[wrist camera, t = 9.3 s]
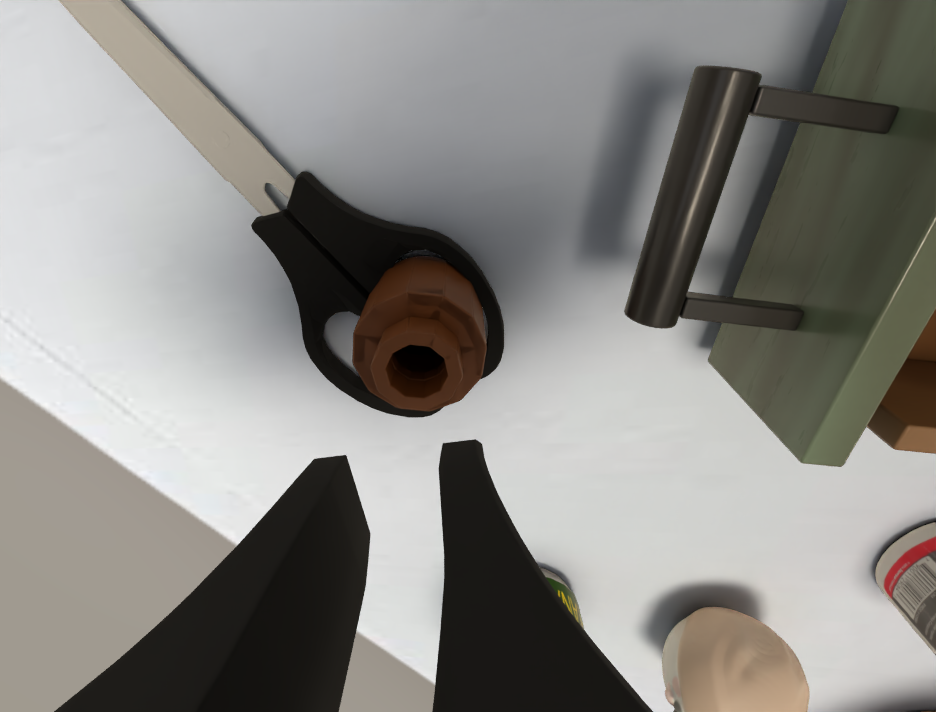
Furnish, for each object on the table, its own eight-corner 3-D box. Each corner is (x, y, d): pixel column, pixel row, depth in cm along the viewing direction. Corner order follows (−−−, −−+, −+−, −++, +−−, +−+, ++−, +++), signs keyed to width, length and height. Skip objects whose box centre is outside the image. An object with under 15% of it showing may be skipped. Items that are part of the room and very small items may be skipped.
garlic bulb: (624, 653, 28) (682, 849, 21) (674, 574, 25) (761, 768, 18) (735, 669, 29) (827, 861, 21) (795, 593, 26) (925, 786, 19)
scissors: (-147, -53, 13) (401, 430, 20) (-185, -62, 12) (399, 444, 20) (-14, -303, 11) (536, 330, 19) (-49, -332, 10) (540, 340, 18)
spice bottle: (373, 248, 17) (347, 299, 13) (488, 262, 17) (497, 316, 13) (368, 351, 19) (344, 423, 15) (472, 362, 19) (476, 436, 15)
